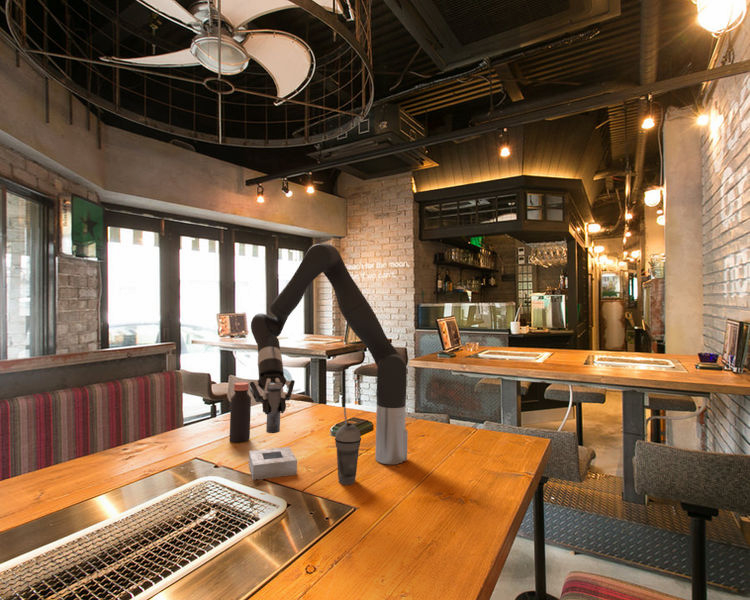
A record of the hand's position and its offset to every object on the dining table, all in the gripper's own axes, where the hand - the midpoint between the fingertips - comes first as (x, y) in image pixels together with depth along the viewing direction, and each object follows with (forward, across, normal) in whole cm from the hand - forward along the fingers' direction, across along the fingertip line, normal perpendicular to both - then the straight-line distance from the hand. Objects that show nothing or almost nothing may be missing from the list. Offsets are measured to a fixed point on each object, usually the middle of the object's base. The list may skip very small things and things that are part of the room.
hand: (274, 412), depth 116 cm
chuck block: (+11, 0, +13) cm, 17 cm away
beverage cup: (+21, +18, +3) cm, 28 cm away
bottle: (-10, -7, +35) cm, 37 cm away
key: (+3, 0, +6) cm, 6 cm away
